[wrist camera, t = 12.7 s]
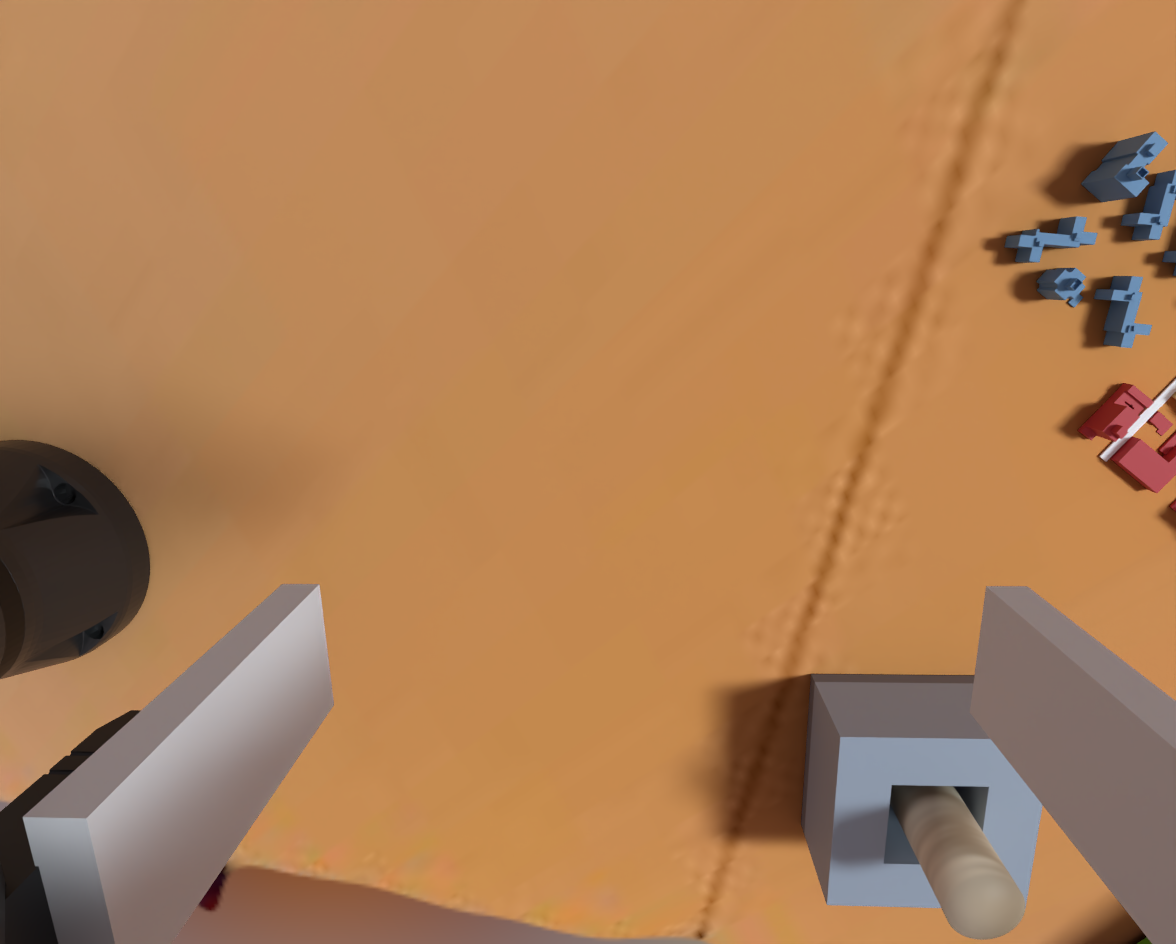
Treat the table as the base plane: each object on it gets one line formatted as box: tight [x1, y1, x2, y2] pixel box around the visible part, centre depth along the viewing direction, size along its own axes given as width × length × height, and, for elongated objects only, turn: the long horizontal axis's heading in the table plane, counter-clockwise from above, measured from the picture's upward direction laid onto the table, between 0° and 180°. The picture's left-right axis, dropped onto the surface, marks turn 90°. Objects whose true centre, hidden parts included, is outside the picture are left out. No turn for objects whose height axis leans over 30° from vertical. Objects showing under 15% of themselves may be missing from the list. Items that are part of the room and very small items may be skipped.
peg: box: [890, 785, 1025, 940], centre depth 44 cm, size 4×4×12 cm
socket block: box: [801, 674, 1042, 908], centre depth 47 cm, size 12×12×7 cm
